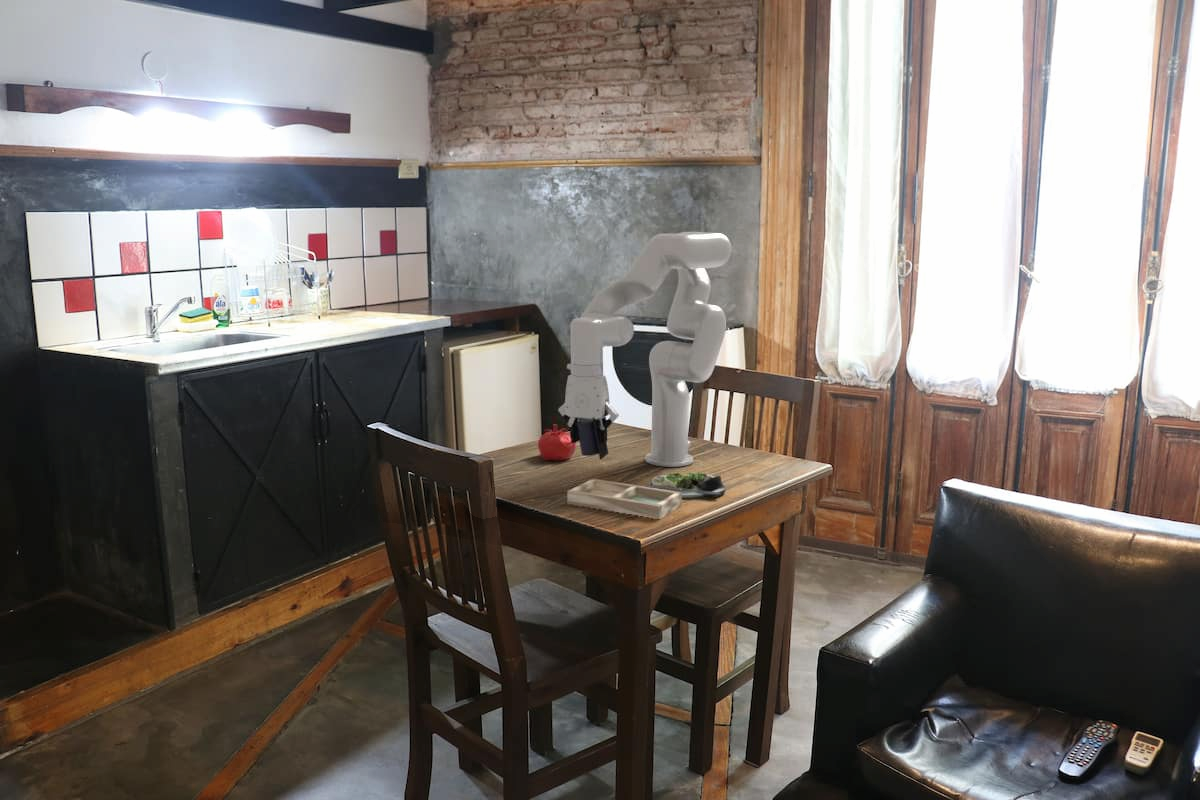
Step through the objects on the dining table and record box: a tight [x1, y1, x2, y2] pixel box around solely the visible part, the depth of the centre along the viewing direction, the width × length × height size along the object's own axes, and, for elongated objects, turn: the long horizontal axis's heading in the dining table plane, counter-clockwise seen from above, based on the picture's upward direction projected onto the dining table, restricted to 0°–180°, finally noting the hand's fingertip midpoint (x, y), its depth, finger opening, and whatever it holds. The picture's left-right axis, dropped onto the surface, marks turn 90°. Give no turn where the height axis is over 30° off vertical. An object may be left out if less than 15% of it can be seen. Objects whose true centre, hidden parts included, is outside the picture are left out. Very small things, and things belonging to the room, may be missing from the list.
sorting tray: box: [566, 478, 683, 520], centre depth 222 cm, size 12×23×3 cm, turn 62°
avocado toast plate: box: [642, 471, 727, 499], centre depth 234 cm, size 19×18×5 cm
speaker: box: [576, 417, 609, 460], centre depth 237 cm, size 8×6×10 cm
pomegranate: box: [537, 423, 577, 462], centre depth 261 cm, size 10×10×9 cm
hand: (588, 442), depth 238 cm, fingers closed on speaker, 6 cm apart
